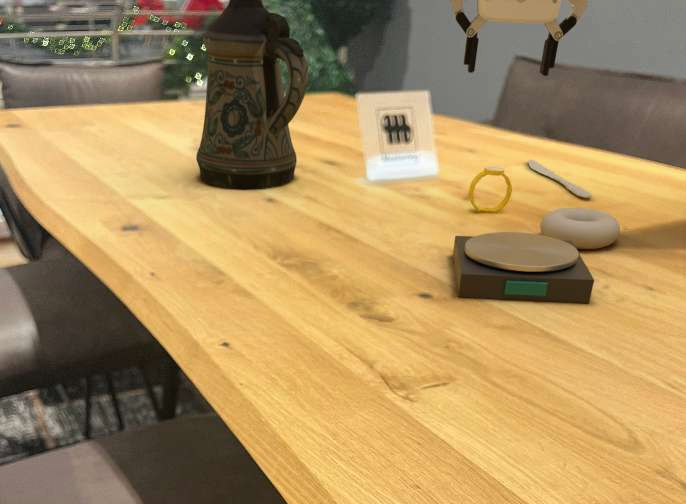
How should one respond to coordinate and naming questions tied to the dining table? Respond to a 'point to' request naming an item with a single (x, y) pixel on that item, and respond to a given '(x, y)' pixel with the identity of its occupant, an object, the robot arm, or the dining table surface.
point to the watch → (495, 171)
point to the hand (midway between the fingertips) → (507, 73)
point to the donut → (581, 227)
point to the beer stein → (250, 99)
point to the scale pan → (521, 251)
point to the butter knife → (559, 179)
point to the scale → (520, 280)
